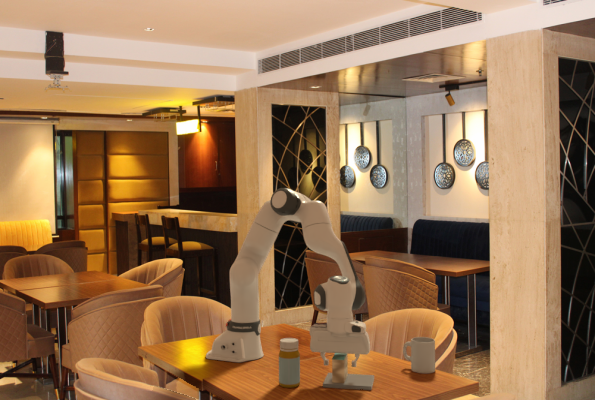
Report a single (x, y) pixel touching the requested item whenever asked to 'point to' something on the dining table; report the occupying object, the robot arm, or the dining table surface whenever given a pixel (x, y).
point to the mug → (421, 354)
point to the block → (339, 367)
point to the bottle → (289, 363)
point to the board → (351, 382)
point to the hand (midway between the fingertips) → (340, 365)
